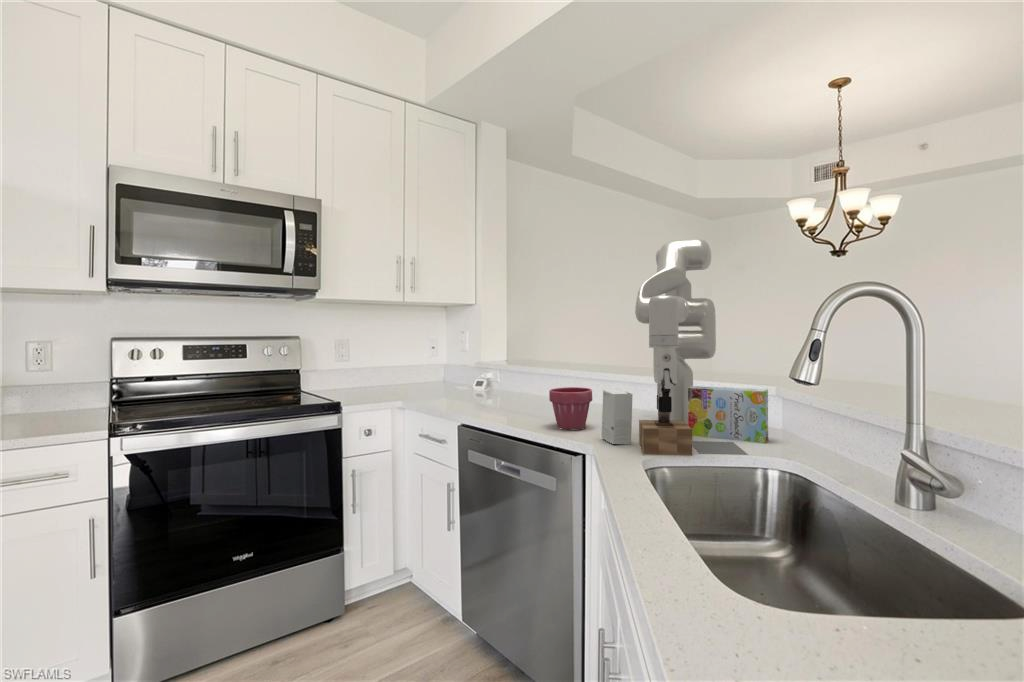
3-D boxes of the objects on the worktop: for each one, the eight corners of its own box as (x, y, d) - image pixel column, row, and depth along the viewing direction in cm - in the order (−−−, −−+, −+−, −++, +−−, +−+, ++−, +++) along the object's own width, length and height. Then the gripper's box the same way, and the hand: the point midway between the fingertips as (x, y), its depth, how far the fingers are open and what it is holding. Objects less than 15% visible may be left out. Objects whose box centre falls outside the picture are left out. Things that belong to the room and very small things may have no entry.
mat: (688, 442, 141) (688, 441, 141) (732, 443, 139) (732, 441, 139) (698, 455, 127) (698, 453, 127) (748, 456, 125) (748, 454, 125)
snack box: (768, 441, 141) (768, 388, 141) (766, 445, 136) (765, 391, 136) (692, 433, 153) (691, 384, 152) (687, 436, 148) (687, 386, 148)
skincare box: (601, 439, 146) (600, 389, 146) (620, 438, 148) (619, 388, 147) (613, 445, 138) (613, 393, 138) (633, 444, 139) (633, 392, 139)
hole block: (639, 444, 139) (639, 419, 139) (683, 445, 137) (683, 420, 137) (643, 455, 127) (643, 428, 127) (692, 456, 125) (692, 429, 125)
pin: (668, 421, 133) (668, 384, 133) (670, 423, 130) (670, 385, 130) (657, 421, 133) (657, 384, 133) (658, 423, 130) (658, 385, 130)
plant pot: (541, 426, 166) (540, 389, 165) (573, 422, 174) (572, 385, 173) (568, 434, 154) (568, 393, 154) (601, 428, 162) (601, 389, 161)
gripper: (684, 342, 122) (684, 416, 123) (673, 341, 139) (673, 406, 139) (652, 343, 124) (653, 416, 124) (645, 341, 140) (646, 406, 140)
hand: (664, 410), depth 132 cm, fingers closed on pin, 3 cm apart
